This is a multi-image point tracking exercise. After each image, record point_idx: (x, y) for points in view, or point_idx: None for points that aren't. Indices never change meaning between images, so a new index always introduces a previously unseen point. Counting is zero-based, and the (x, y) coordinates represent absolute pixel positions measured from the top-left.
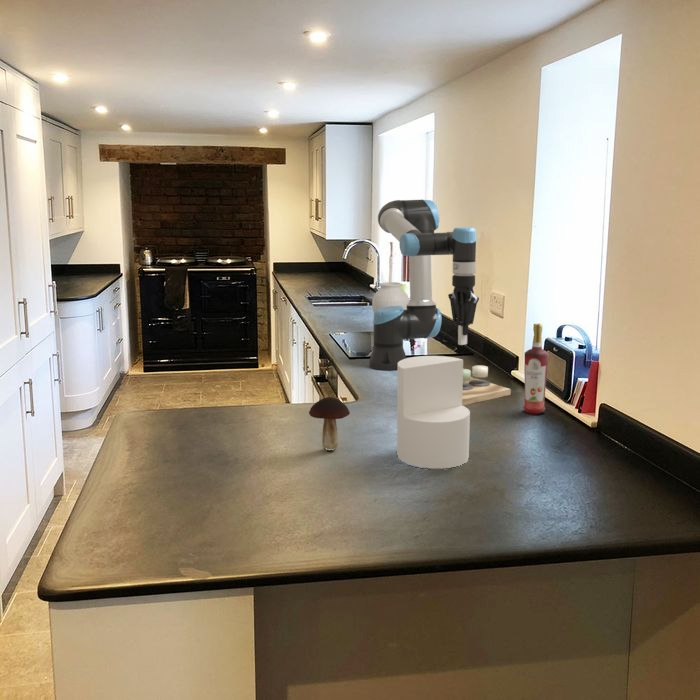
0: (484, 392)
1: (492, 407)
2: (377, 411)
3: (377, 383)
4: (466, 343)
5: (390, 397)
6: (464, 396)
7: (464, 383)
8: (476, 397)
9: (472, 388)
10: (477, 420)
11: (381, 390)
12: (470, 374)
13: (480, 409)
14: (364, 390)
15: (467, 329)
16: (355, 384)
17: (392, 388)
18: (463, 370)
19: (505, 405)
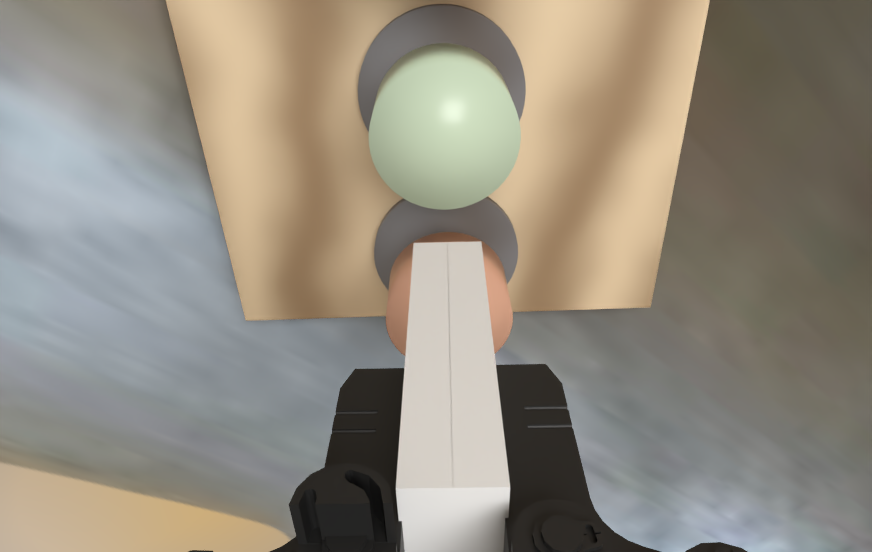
0: (652, 39)
1: (808, 130)
2: None
3: (9, 368)
4: (480, 255)
5: (303, 435)
6: (620, 222)
7: (395, 34)
8: (676, 159)
9: (512, 44)
10: (862, 334)
11: (163, 413)
12: (503, 84)
13: (771, 214)
14: (133, 465)
15: (575, 462)
16: (3, 451)
17: (144, 357)
18: (448, 134)
19: (859, 21)
